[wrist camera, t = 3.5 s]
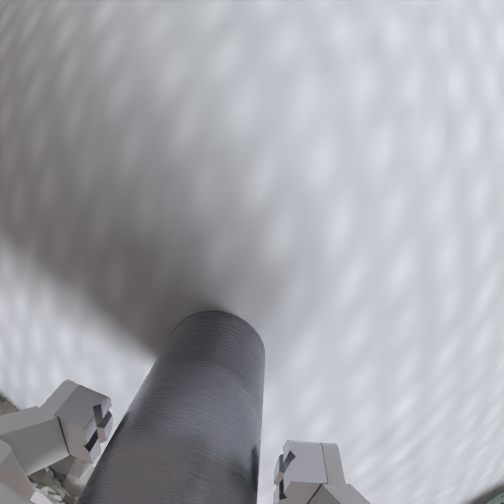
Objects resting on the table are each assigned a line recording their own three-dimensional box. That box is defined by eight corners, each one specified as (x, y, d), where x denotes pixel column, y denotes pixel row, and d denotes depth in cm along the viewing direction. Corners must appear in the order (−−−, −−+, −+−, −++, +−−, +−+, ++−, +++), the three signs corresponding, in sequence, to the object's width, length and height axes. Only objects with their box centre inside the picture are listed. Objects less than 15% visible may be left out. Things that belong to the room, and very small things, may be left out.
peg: (174, 301, 12) (24, 522, 2) (275, 323, 12) (270, 598, 2) (167, 378, 13) (77, 572, 3) (254, 398, 13) (231, 614, 3)
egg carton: (113, 470, 16) (93, 511, 12) (93, 496, 18) (78, 528, 14) (-4, 381, 15) (-36, 410, 11) (-3, 425, 17) (-26, 451, 13)
